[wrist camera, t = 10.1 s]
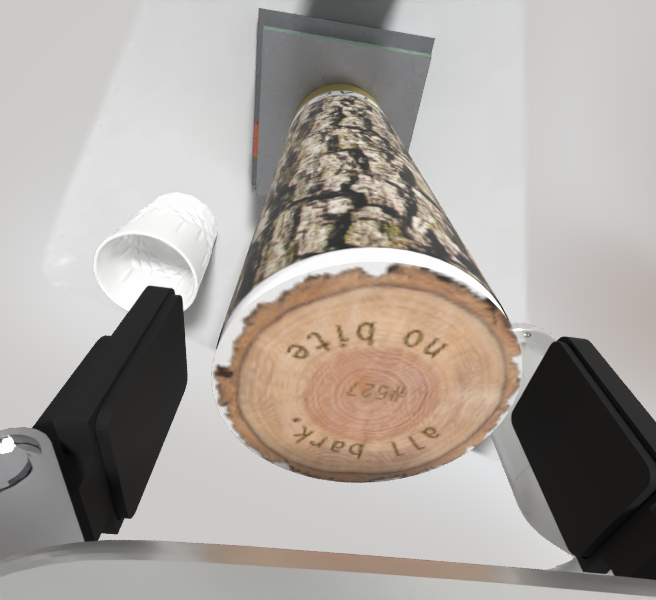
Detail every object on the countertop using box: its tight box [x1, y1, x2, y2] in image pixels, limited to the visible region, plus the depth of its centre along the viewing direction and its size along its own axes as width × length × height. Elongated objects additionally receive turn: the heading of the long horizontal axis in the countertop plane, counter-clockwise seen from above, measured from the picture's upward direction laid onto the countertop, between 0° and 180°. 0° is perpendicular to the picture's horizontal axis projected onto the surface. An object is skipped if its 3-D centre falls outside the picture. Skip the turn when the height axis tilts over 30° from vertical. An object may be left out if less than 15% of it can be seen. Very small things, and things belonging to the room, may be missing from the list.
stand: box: [252, 8, 435, 196], centre depth 32 cm, size 13×13×6 cm
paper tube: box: [211, 84, 522, 483], centre depth 19 cm, size 7×7×25 cm
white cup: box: [93, 192, 217, 312], centre depth 36 cm, size 8×8×10 cm
